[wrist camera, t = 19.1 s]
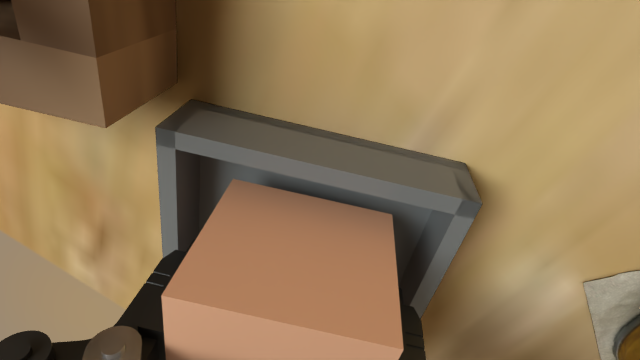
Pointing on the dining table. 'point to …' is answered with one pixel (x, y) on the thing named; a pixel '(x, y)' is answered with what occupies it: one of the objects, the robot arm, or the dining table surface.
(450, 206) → the tray
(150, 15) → the go block
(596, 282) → the condiment
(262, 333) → the block
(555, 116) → the dining table surface
